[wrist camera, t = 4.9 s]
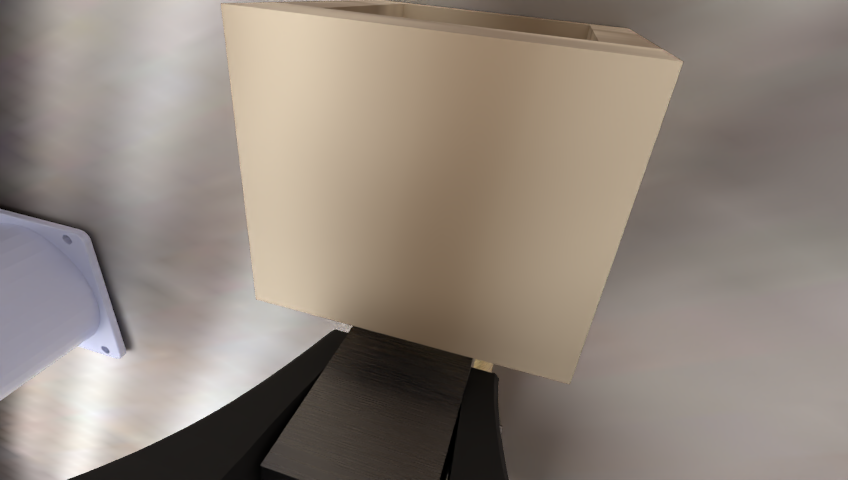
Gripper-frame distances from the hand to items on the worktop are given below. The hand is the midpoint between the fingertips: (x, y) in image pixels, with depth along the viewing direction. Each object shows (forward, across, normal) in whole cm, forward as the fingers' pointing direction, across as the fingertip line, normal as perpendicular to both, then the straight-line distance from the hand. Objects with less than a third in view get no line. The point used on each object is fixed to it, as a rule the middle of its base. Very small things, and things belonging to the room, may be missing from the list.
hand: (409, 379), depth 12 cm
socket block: (+6, 0, -5) cm, 8 cm away
